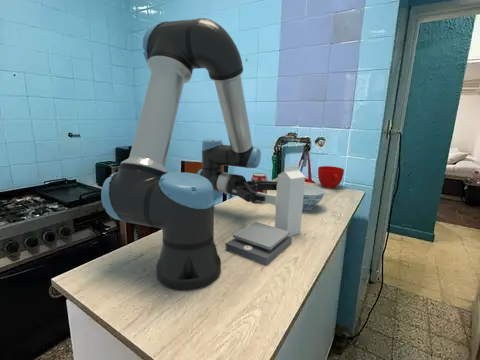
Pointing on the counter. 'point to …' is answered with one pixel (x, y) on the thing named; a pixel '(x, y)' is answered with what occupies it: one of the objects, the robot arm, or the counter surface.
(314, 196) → the chinaware
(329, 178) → the ceramic cup
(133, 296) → the counter surface
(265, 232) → the kitchen scale
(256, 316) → the counter surface
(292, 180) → the milk
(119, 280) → the counter surface
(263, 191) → the soda can
